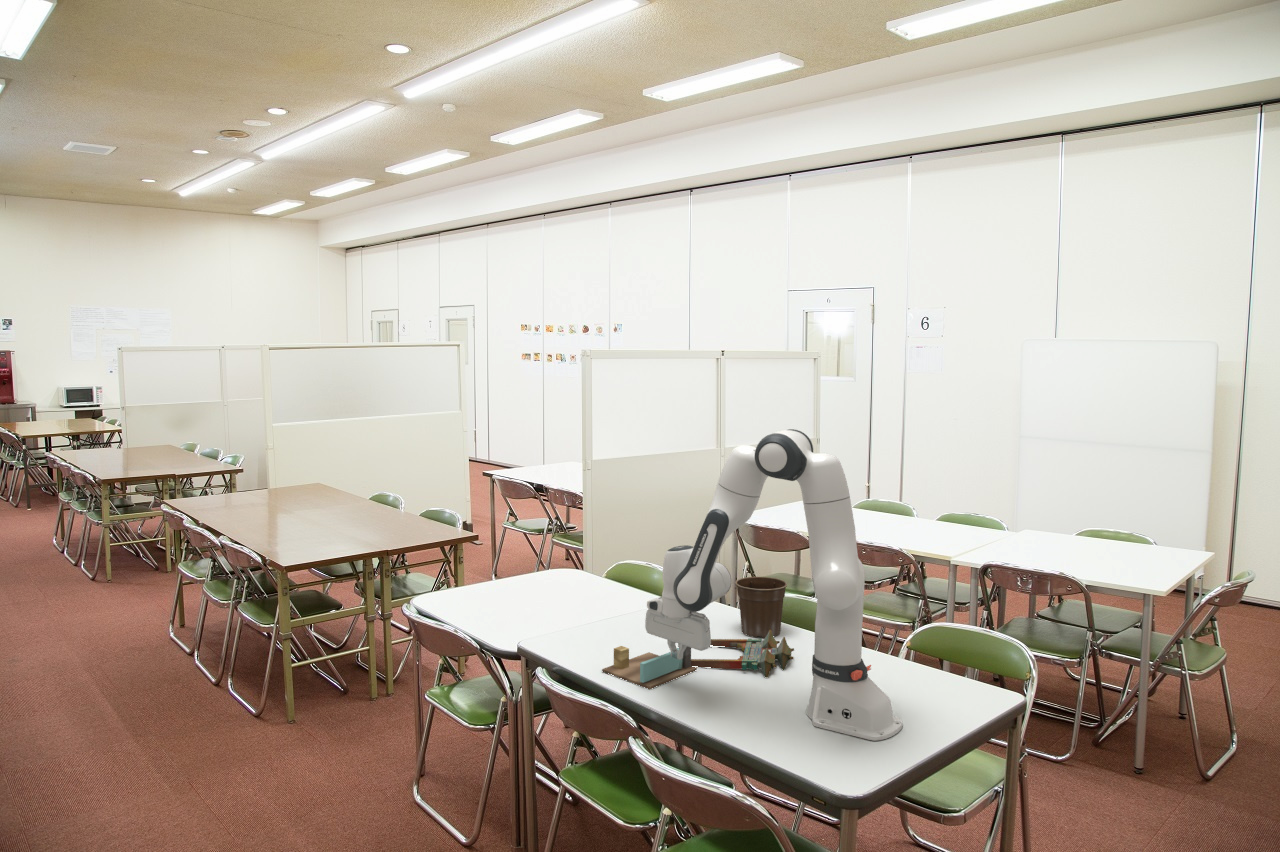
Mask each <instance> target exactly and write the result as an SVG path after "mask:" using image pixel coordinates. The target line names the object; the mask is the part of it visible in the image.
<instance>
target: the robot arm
mask: <svg viewBox="0 0 1280 852" xmlns="http://www.w3.org/2000/svg"><path fill="white" fill-rule="evenodd" d="M769 477H770V478H772V479H779V480H785V481H788V482H789V481H790V482H794V481H796V482H797V483H798V484H799V488H800V490H801V496H802V503H803V510H804V515H805V521H806V527H807V533H808V544H809V557H810V568H811V569H810V570H811V577H812V584H813V586H812V587H813V591H814V594H815V597H816V599H817V601H816V613H815V619H814V654H812V662H811V673H812V676H813V677H812V685H811V691H810V696H809V701H808V704H807V707H806V710H805V712H806V715H807V716H808V717H809V719H810V720H811V723H812V725H813V726H814V727H817V728H821V729H823V730H827V731H832V732H836V733H841V734H845V735H848V736H853V737H857V738H861V739H863V740H869V741H874V742H875V741H876V742H877V741H882V740H883V741H884V740H886V739H889V738H891V737H893V736H895V735H896V734H898V733H899V732H900V731H901V730H902V728H903V720H902V718H900V717H897V716H896V715H894V713H893V712H894V710H893V706H892V702H891V699H890V697H889V696H888V695H887V694H886V693H885V692H884V691H883V690H882V689H880V687H878V685H877V684H876V683H875V682H874V681H873V680H872V679H871V678H870V677H869V674H868V672H869V671H870V670H872V665H871V664H868V665H866V664H865V663H864V660H863V658H862V641H863V621H864V620H863V618H864V616H863V615H864V601H865V598H864V597H865V580H866V579H865V577H866V575H865V574H866V573H865V567H864V565H863V563H862V561H861V559H859V555H858V546H857V536H856V525H855V519H854V513H853V508H852V501H851V495H850V489H849V485H848V482H847V478H846V474H845V472H844V468H843V466H842V463H841V461H840V459H839V458H838V457H837V456H836V455H834V454H831V453H825V452H818V453H816V452H814V445H813V443H812V440H811V438H810V437H809V436H808V435H807V434H806V433H804V432H803V431H801V430H798V429H795V428H794V429H793V428H792V429H791V428H790V429H781V430H777V431H774V432H772V433H771V434H768V435H765V436H764V437H762V438H761V440H760V441H758V443H757V445H756V446H753V445H748V444H741V445H736V446H735V447H734V448H733V449H732V450H731V452H730V453H729V454H728V457H727V459H726V461H725V463H724V465H723V467H722V469H721V472H720V474H719V476H718V480H717V484H716V488H715V490H714V493H713V496H712V500H711V503H710V506H709V508H708V511H707V513H706V516H705V519H704V521H703V523H702V525H701V528H700V530H699V532H698V535H697V538H696V540H695V542H694V545H693V546H691V545H678V546H674V547H671V548H669V549H668V550H667V551H665V554H664V557H663V558H664V559H663V564H662V565H663V566H662V582H663V589H662V592H661V596H659V597H656V598H651V599H650V600H648V601H647V602H646V607H647V609H646V612H645V619H644V620H645V624H644V625H645V626H644V627H645V630H646V633H647V634H649V635H653V636H655V637H658V638H661V639H664V640H667V642H666V643H667V645H668V648H669V650H670V651H669V652H671V657H673V658H676V659H679V660H680V659H682V658H683V652H684V651H685V649H686V647H687V646H688V647H691V649H694V650H697V651H699V652H702V651H703V652H704V651H705V650H708V649H709V648H711V647H710V645H711V639H712V637H711V627H710V626H711V625H710V624H711V623H710V622H711V621H710V619H709V618H708V617H707V616H706V614H705V613H703V612H702V613H700V611H702V610H704V609H705V608H706V607H708V606H709V605H710V604H711V603H713V602H716V601H717V600H719V599H721V598H723V597H724V596H725V595H726V594H728V592H729V591H730V590H731V587H732V577H731V573H730V571H729V570H728V568H727V567H726V565H725V564H722V563H721V562H718V561H717V560H718V557H719V555H720V553H721V549H722V548H723V546H724V544H725V542H726V541H727V539H728V538H729V537H730V536H731V535H732V534H733V533H734V532H735V531H736V530H737V529H739V528H740V527H741V526H743V525H744V524H745V523H746V522H748V521H749V520H750V519H751V517H752V516H753V514H754V512H755V510H756V508H757V505H758V503H759V500H760V499H761V494H762V492H763V491H762V490H763V488H764V485H765V483H766V480H767V478H769ZM676 644H677V646H676ZM679 647H680V648H679ZM677 648H679V650H677Z"/></svg>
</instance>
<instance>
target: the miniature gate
mask: <svg viewBox="0 0 1280 852" xmlns="http://www.w3.org/2000/svg"><path fill="white" fill-rule="evenodd" d="M778 644H779V645H778ZM711 645H713V646H725V647H736V648H735V649H741V651H742V652H743V655H739V658H737V659H729V658H728V659H725V658H724V659H719V658H717V659H716V658H712V659H711V658H708V659H707V658H699V659H698V658H694V659H693V658H691V666H698V667H711V668H722V669H723V670H729V669H730V670H742V671H747V670H754V671H757V670H759V669H760V670H761V672H762V674H763V677H764V676H765V677H768V678H769V676H770V674H771V671H772V670H773V669H774V668H777V667H778V666H777V664H776V661H777V663H778V664H779V666H780V668H781V670H782V669H783V670H784V669H785V670H786V667H787V665H788V663H789V661H790V660H794V656H792V652H794V651H795V648H794V647H793V648H791V647H790V646H789V645H788V643H787V640H786V636H783V637H782V639H781V641H780V640H776V639H775V637H773V635H772V632H771V630H769V632H768V634H767V636H766V637H765V638H738V639H737V638H732V639H731V638H724V639H723V638H717V639H716V638H711ZM722 669H721V670H722ZM777 669H778V668H777ZM783 670H782V671H783ZM765 677H764V678H765Z"/></svg>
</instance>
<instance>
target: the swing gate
mask: <svg viewBox="0 0 1280 852" xmlns="http://www.w3.org/2000/svg"><path fill="white" fill-rule="evenodd" d="M676 648H677V650H679V647H676ZM677 669H682V659H680V660H679V659H676V658H673V657H671V651H669V652H666V653H664V654H661V655H659V656H658V657H655V658H652V659H650V660H647V661H644V662H642V663H640V682H643V683H644V682H647V681H649V680H652V679H654V678H657V677H659V676H662V675H664V674H667V673H669V672H672V671H674V670H677Z"/></svg>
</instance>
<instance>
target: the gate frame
mask: <svg viewBox="0 0 1280 852" xmlns="http://www.w3.org/2000/svg"><path fill="white" fill-rule="evenodd" d="M678 648H680V647H678ZM658 656H660V655H658V654H656V653H652V652H650V651H649V652H646V653H643V654H641V655H637V656H635V657H632V658H630V648H629V647H626V646H623V645H619V646H617V647H615V648H613V665H610V666H607V667H604V668H602V669H601V672H602V671H603V672H606V673H609V674H612V675H614V676H617V677H619V678H618V679H620V678H622V679H624V680H623V681H625V680H627V681H626V682H628V681H630V682H632V683H631V684H633V683H634V684H633V685H636V684H637V685H636V686H639V685H640V686H639V687H641V686H642V687H641V688H644V687H645V688H644V689H647V688H648V689H647V690H649V689H651V690H653V689H655V688H654V687H656V686H658V687H660V686H662V685H661V684H663V685H664V683H665V684H667V683H666V682H668V683H669V681H670V682H672V681H671V680H673V679H675V680H677V679H676V678H678V677H680V676H683V675H685V676H687V675H689V674H688V673H690V672H692V673H694V672H693V671H695V670H697V669H698V668H695V667H692V666H691V659H692V648H691V647H688V646H687V647H686V649H685V651H684V652H683V658H682V669H677V670H674V671H672V672H669V673H667V674H664V675H662V676H659V677H657V678H654V679H652V680H649V681H647V682H644V683H643V682H640V663H642V662H644V661H647V660H650V659H652V658H655V657H658ZM603 672H602V673H603ZM695 672H696V671H695ZM606 673H605V674H606ZM609 674H608V675H609ZM686 674H687V675H686ZM690 674H691V673H690ZM612 675H611V676H612ZM614 676H613V677H614ZM617 677H616V678H617ZM683 677H684V676H683ZM680 678H681V677H680ZM622 679H621V680H622ZM678 679H679V678H678ZM673 681H674V680H673ZM630 682H629V683H630ZM659 685H660V686H659ZM652 688H653V689H652ZM656 688H657V687H656Z"/></svg>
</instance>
